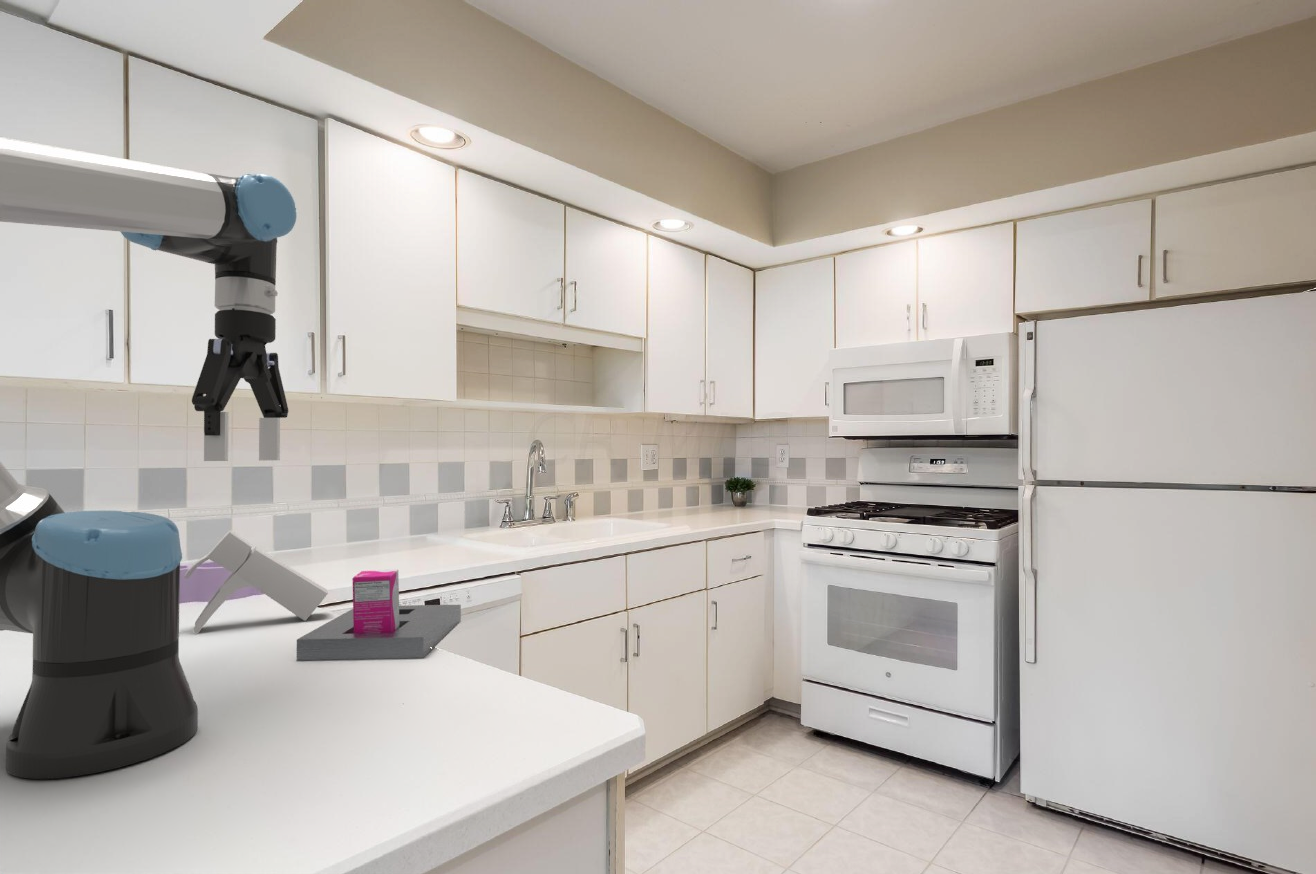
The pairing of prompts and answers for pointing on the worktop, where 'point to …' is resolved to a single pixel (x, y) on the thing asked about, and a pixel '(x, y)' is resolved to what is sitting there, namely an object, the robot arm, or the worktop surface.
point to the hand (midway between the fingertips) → (244, 461)
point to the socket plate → (381, 636)
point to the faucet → (258, 578)
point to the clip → (208, 583)
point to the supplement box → (376, 601)
